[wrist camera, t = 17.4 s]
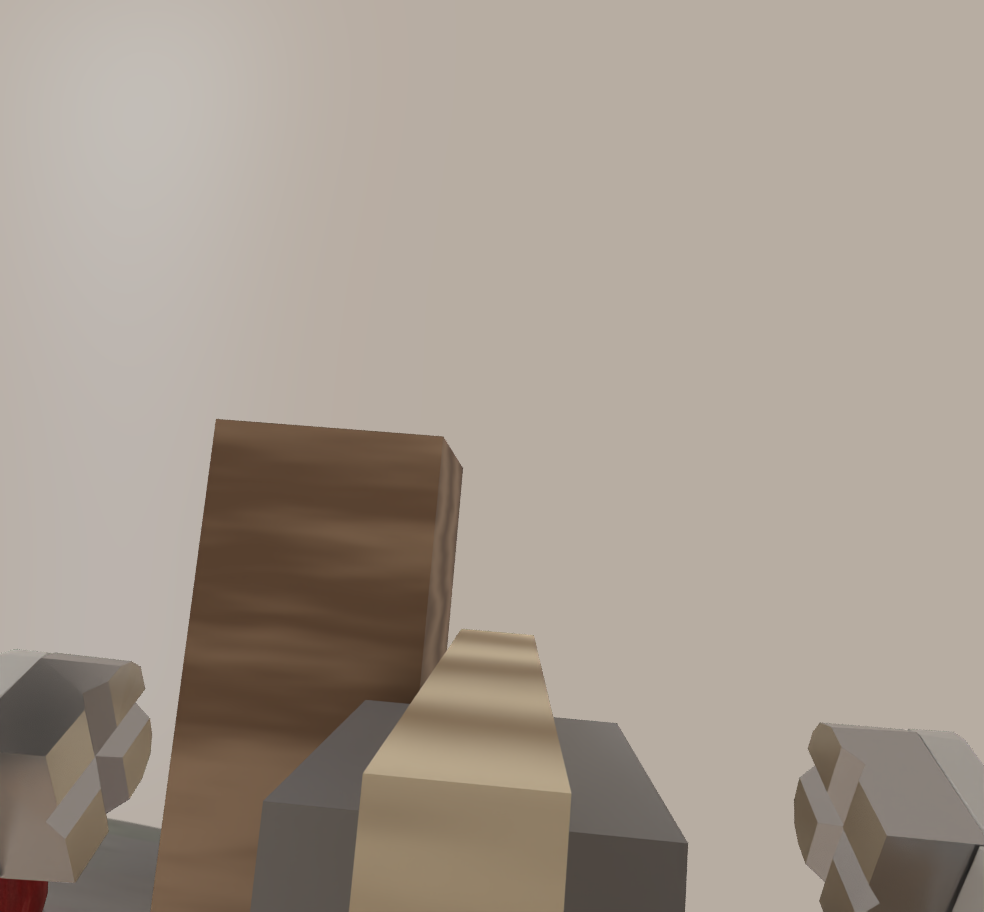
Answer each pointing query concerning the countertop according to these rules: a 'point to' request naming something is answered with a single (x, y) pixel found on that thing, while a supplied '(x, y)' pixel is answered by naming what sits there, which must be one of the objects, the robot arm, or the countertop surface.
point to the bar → (468, 791)
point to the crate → (592, 829)
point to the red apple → (22, 895)
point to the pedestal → (297, 626)
